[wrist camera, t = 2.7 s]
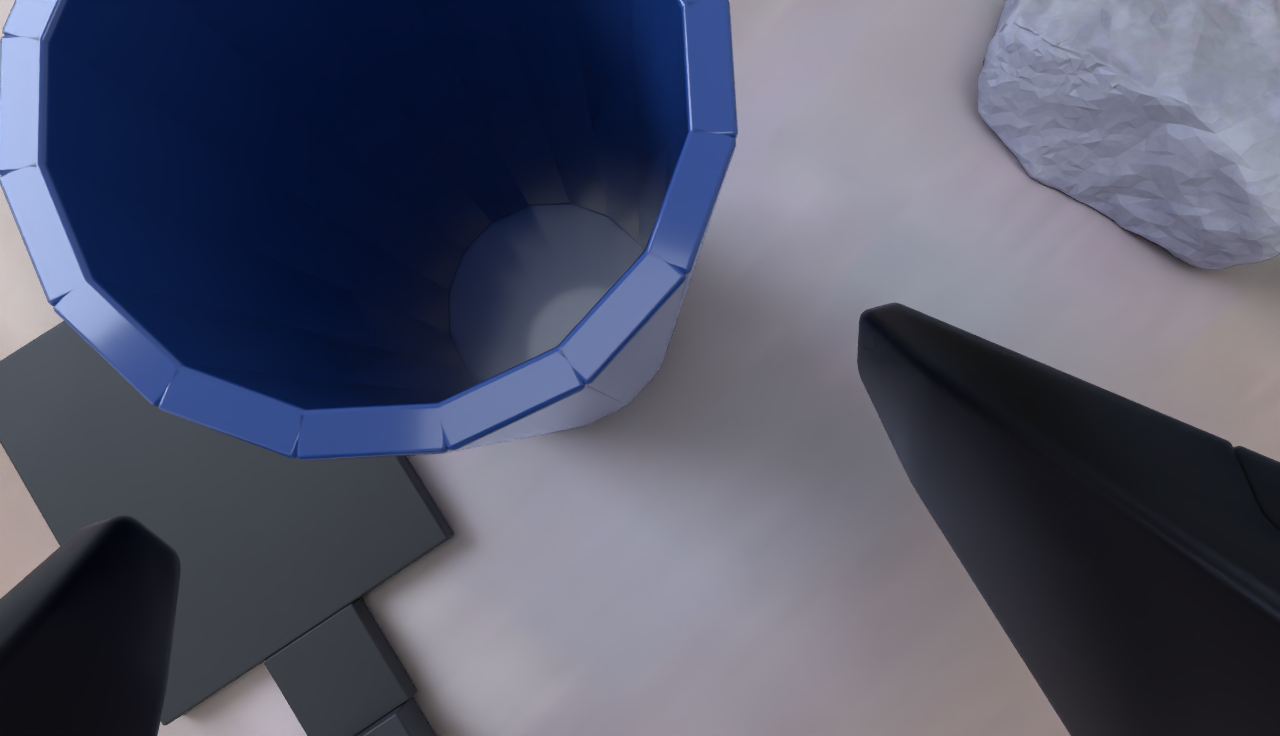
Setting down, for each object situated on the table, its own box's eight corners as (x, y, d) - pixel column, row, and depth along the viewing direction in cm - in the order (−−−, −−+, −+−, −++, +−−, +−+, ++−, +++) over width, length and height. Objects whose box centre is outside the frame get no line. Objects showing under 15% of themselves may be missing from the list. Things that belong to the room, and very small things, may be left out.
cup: (627, 460, 18) (585, 569, 5) (406, 380, 18) (-125, 306, 6) (705, 240, 18) (834, -130, 6) (488, 165, 19) (166, -348, 6)
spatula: (756, 1016, 17) (764, 1058, 16) (469, 1218, 16) (456, 1275, 15) (255, 213, 18) (230, 201, 17) (-14, 383, 18) (-56, 381, 17)
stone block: (909, 138, 20) (1228, 310, 18) (961, 26, 16) (1403, 238, 13) (1111, -132, 21) (1438, -5, 19) (1216, -312, 17) (1670, -176, 14)
